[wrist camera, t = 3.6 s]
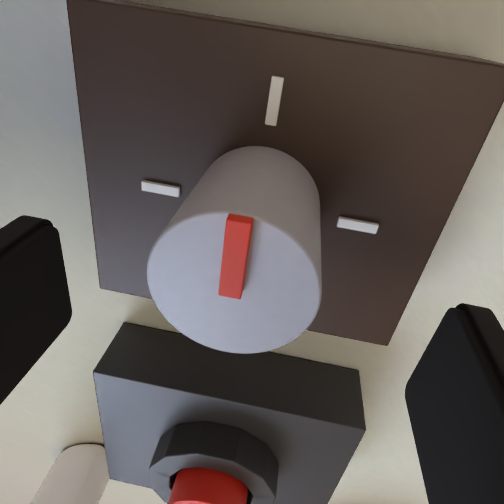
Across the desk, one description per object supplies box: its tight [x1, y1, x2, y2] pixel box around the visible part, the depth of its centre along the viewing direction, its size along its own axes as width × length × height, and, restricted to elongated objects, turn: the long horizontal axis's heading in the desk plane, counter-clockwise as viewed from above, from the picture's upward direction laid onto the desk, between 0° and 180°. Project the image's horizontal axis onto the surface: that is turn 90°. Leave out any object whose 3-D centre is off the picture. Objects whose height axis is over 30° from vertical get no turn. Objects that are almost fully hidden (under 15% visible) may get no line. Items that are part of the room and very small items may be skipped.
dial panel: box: [66, 0, 504, 346], centre depth 15 cm, size 13×11×3 cm
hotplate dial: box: [147, 146, 322, 354], centre depth 11 cm, size 4×4×5 cm
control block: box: [93, 323, 366, 504], centre depth 22 cm, size 14×11×6 cm
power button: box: [168, 467, 248, 504], centre depth 20 cm, size 4×4×2 cm
